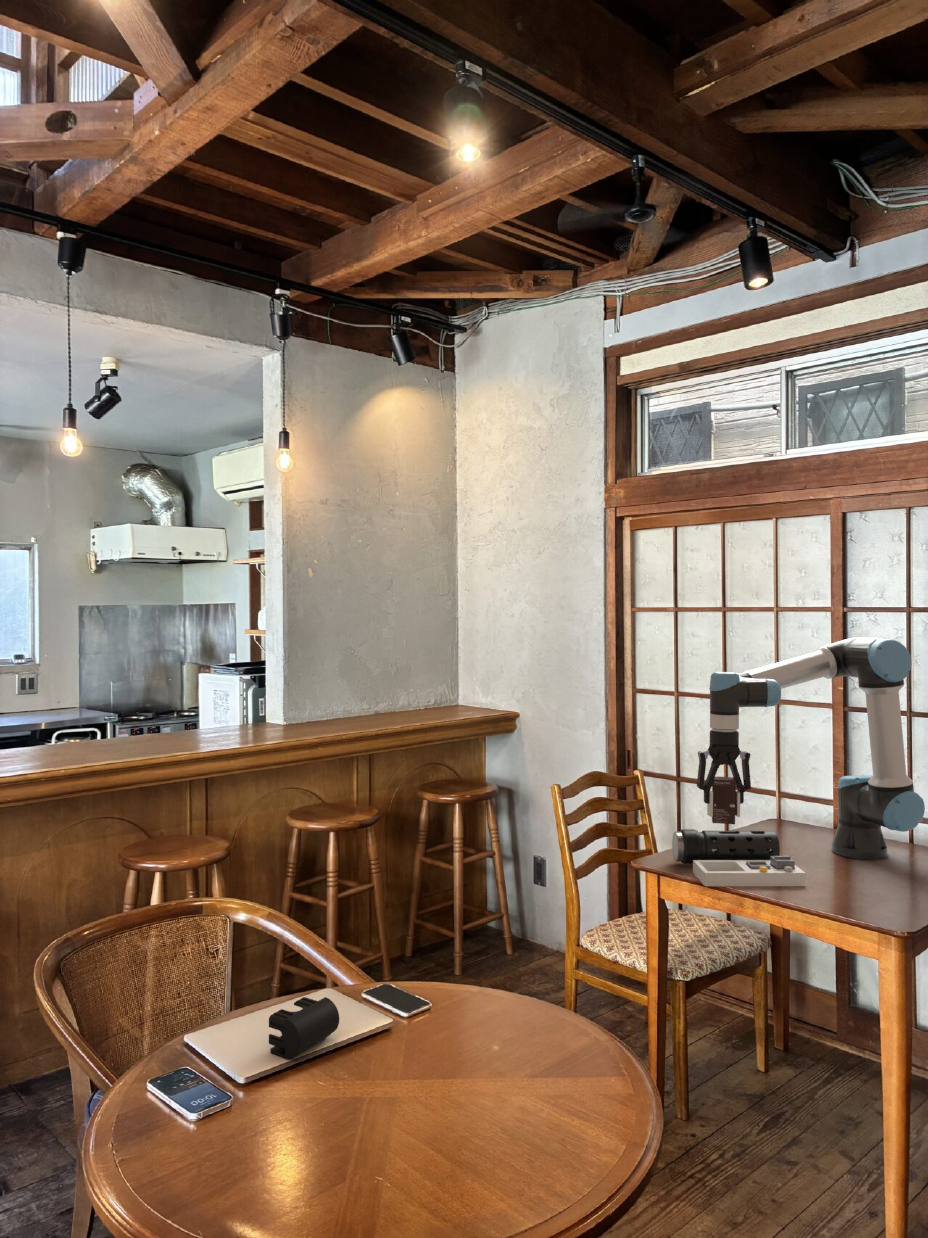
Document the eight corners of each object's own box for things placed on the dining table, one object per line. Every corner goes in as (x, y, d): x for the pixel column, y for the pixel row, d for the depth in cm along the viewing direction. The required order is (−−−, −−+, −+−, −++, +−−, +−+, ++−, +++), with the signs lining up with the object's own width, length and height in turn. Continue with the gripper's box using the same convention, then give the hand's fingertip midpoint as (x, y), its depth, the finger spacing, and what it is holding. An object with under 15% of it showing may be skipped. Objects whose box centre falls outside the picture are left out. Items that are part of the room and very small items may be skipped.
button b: (763, 874, 243) (763, 859, 243) (769, 879, 239) (769, 864, 239) (746, 874, 243) (746, 859, 243) (751, 879, 239) (751, 864, 239)
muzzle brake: (780, 871, 249) (780, 834, 248) (678, 871, 249) (678, 834, 249) (769, 862, 258) (769, 826, 258) (671, 861, 259) (671, 825, 259)
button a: (788, 869, 243) (788, 853, 243) (794, 874, 239) (794, 858, 239) (770, 869, 243) (770, 854, 243) (776, 874, 239) (776, 858, 239)
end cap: (299, 1066, 142) (299, 1024, 142) (266, 1054, 146) (266, 1013, 146) (340, 1041, 151) (340, 1000, 151) (308, 1030, 154) (308, 991, 154)
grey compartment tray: (788, 872, 247) (788, 856, 247) (805, 886, 235) (805, 869, 235) (692, 872, 247) (693, 856, 247) (704, 886, 235) (704, 869, 235)
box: (712, 824, 239) (712, 779, 239) (711, 820, 244) (711, 776, 243) (736, 825, 238) (736, 780, 238) (734, 821, 242) (734, 776, 242)
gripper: (755, 728, 244) (755, 812, 245) (684, 727, 244) (683, 812, 244) (765, 731, 237) (764, 819, 237) (691, 731, 237) (690, 818, 237)
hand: (723, 815), depth 241 cm, fingers closed on box, 7 cm apart
